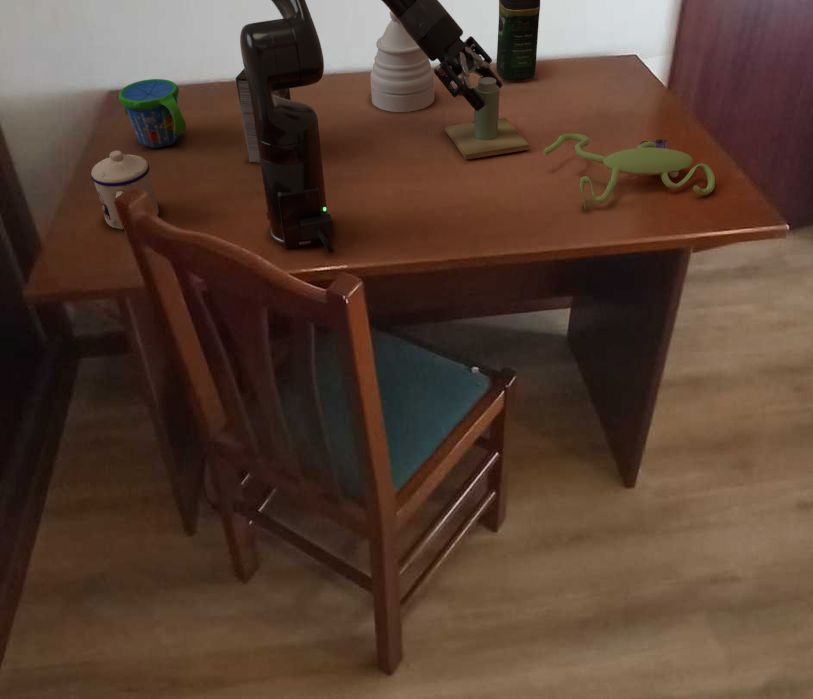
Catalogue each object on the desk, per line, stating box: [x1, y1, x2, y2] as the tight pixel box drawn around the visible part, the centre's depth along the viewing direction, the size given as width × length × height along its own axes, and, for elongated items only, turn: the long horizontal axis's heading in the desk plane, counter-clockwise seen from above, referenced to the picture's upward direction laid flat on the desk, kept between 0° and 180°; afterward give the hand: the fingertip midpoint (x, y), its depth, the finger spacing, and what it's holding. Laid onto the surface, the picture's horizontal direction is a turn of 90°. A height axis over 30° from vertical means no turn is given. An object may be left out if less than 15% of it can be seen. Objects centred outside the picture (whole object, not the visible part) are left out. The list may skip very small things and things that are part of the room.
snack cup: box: [118, 78, 187, 149], centre depth 163 cm, size 16×10×10 cm
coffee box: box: [235, 68, 292, 164], centre depth 155 cm, size 9×6×16 cm
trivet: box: [445, 117, 530, 160], centre depth 160 cm, size 12×12×1 cm
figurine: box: [542, 133, 716, 211], centre depth 147 cm, size 18×27×6 cm
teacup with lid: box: [90, 150, 159, 231], centre depth 139 cm, size 12×9×12 cm
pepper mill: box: [473, 77, 501, 140], centre depth 157 cm, size 4×4×10 cm
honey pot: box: [369, 10, 435, 113], centre depth 171 cm, size 13×13×18 cm
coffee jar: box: [495, 0, 541, 83], centre depth 179 cm, size 10×8×19 cm
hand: (490, 98), depth 155 cm, fingers open, 8 cm apart
